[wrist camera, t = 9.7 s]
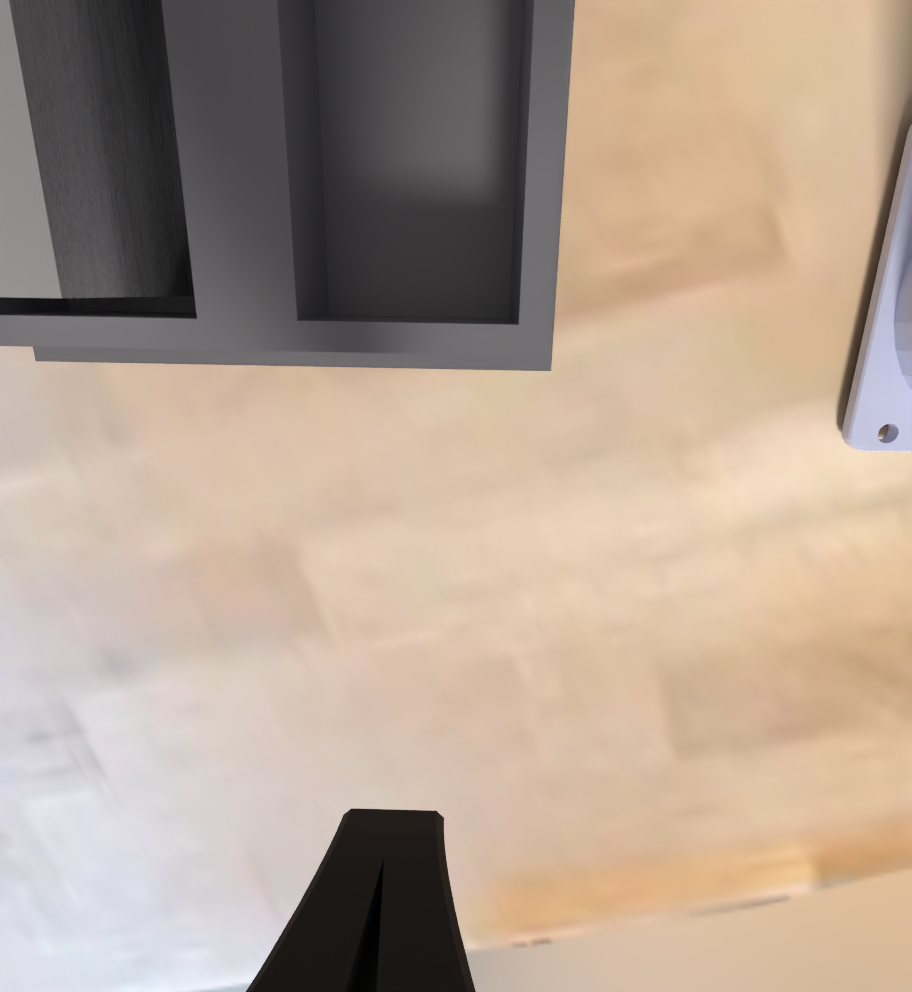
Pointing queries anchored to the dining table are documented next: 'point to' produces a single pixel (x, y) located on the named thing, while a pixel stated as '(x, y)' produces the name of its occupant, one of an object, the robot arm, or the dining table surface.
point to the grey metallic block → (89, 153)
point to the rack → (351, 190)
